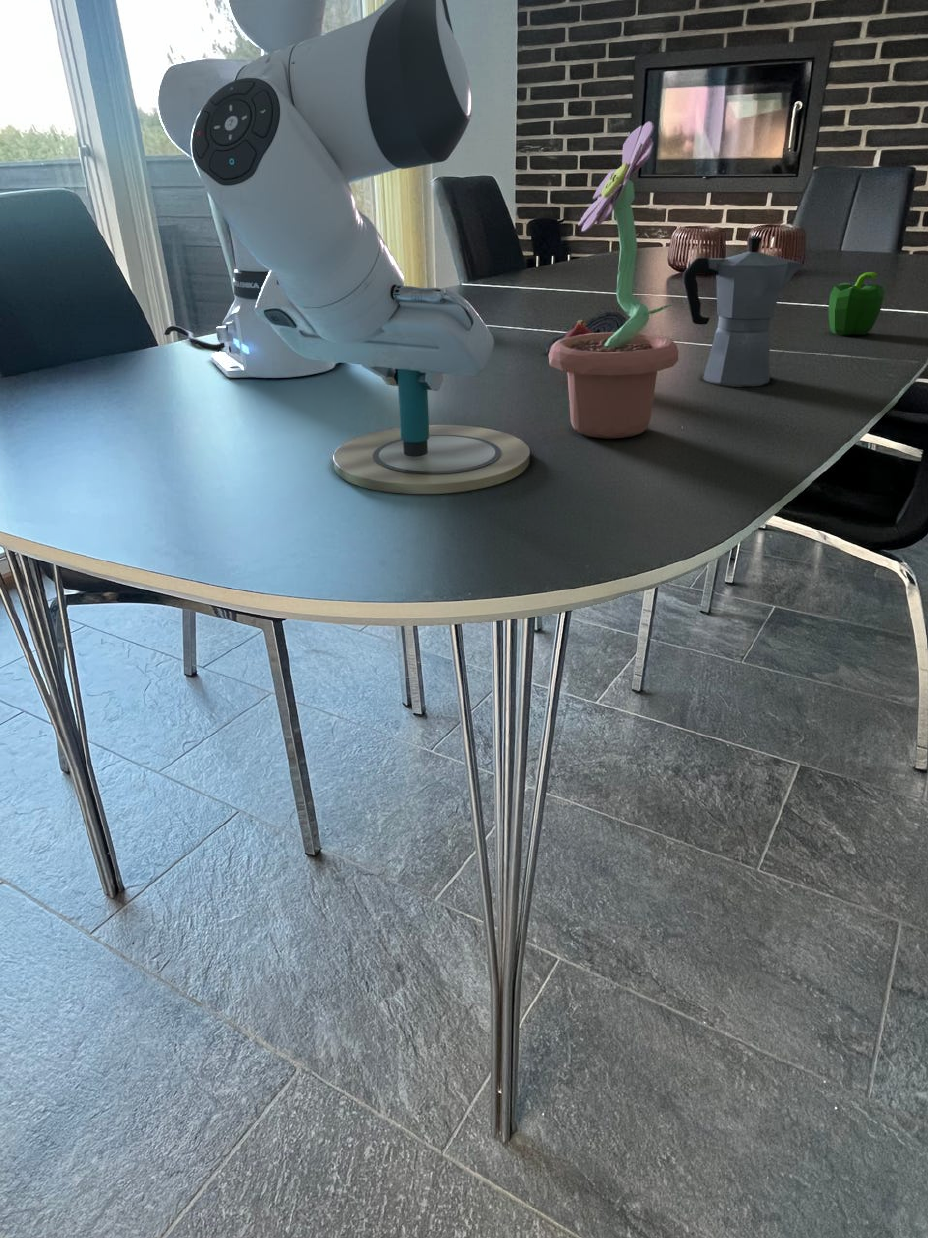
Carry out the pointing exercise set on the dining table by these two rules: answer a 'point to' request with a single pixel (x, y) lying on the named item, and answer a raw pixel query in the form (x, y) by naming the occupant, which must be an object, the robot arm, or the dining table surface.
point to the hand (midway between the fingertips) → (415, 381)
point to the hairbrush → (598, 325)
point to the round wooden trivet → (432, 460)
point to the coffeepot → (740, 312)
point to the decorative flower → (623, 360)
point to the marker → (413, 413)
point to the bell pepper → (855, 306)
